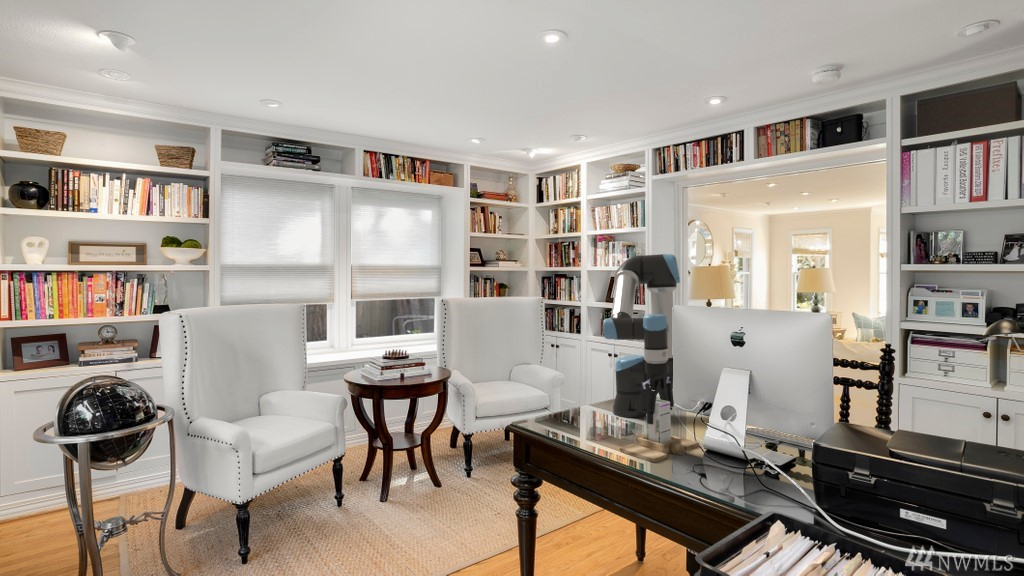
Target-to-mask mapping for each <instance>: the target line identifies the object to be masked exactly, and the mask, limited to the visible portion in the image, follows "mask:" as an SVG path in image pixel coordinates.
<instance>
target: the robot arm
mask: <svg viewBox="0 0 1024 576" xmlns="http://www.w3.org/2000/svg"><path fill="white" fill-rule="evenodd" d="M613 280H614V281H613V282H614V284H615V289H614V295H613V296H614V297H613V302H612V308H611V314H610V317H609V318H605V319H604V320H603V323H602V331H603V338H605V340H614V341H617V340H620V341H621V340H643V342H644V343H643V344H644V346H643V347H644V349H643V351H644V352H643V354H644V355H642V354H641V355H640V354H637V355H636V354H635V355H628V356H623V357H619V358H618V359H617V360H616V361H615V369H614V373H615V387H616V389H615V390H616V391H615V393H616V394H615V399H614V402H613V405H612V414H613V415H616V416H619V417H623V418H642V417H646V414H647V417H646V424H647V423H648V433H651V434H654V435H656V434H657V432H656V414H654V410H655V403H656V399H657V396H659V399H661V400H665V401H670V411H673V407H674V405H675V402H674V401H675V400H674V390H673V355H672V307H673V308H674V291H675V290H676V289H677V284H681V283H680V282H681V279H680V272H679V267H678V260H677V256H675V254H671V253H670V254H668V253H666V254H665V253H662V254H645V255H641V254H640V255H634V256H632V257H630V258H628V259H626V260H625V261H624V262H622V263H621V264H620V265H619V267H618V268H617V269H616V272H615V274H614V279H613ZM640 284H641V285H646V289H647V290H648V292H650V304H651V305H650V306H651V313H649V314H646V315H643V317H633V313H634V304H635V297H636V296H635V295H636V288H637V287H638V285H640Z"/></svg>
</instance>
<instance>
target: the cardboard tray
mask: <svg viewBox="0 0 1024 576" xmlns="http://www.w3.org/2000/svg"><path fill="white" fill-rule="evenodd" d="M635 442H636V443H637V444H636V443H631V444H628V445H624V446H621V447H619V452H620V451H621V453H623V452H624V453H623V454H626V453H627V454H626V455H629V454H630V456H632V455H633V456H632V457H635V456H636V458H638V457H639V458H638V459H641V458H642V459H641V460H644V459H645V460H644V461H647V460H648V461H647V462H650V461H651V463H653V462H655V463H656V462H660V461H663V460H666V459H667V458H668V455H670V454H674V455H678V456H681V457H682V456H683V455H685V452H686V451H689V450H692V449H694V448H698V447H699V446H700V442H699V441H696V440H691V439H687V438H683V437H681V436H677V435H672V434H671V441H668V442H665V443H662V444H660V443H657V442H653V441H650V440H647V434H644V433H637V434H636V435H635Z"/></svg>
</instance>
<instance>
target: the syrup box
mask: <svg viewBox="0 0 1024 576" xmlns="http://www.w3.org/2000/svg"><path fill="white" fill-rule="evenodd" d="M654 414H656V432H657V434H656V435H654V434H651V433H648V423H647V422H646V435H647V440H650V441H653V442H657V443H660V444H662V443H665V442H668V441H671V435H672V429H671V428H672V427H671V425H672V421H671V410H670V401H665V400H661V399H660V398H656V403H655V410H654ZM645 417H646V418H647V414H646V416H645Z"/></svg>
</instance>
